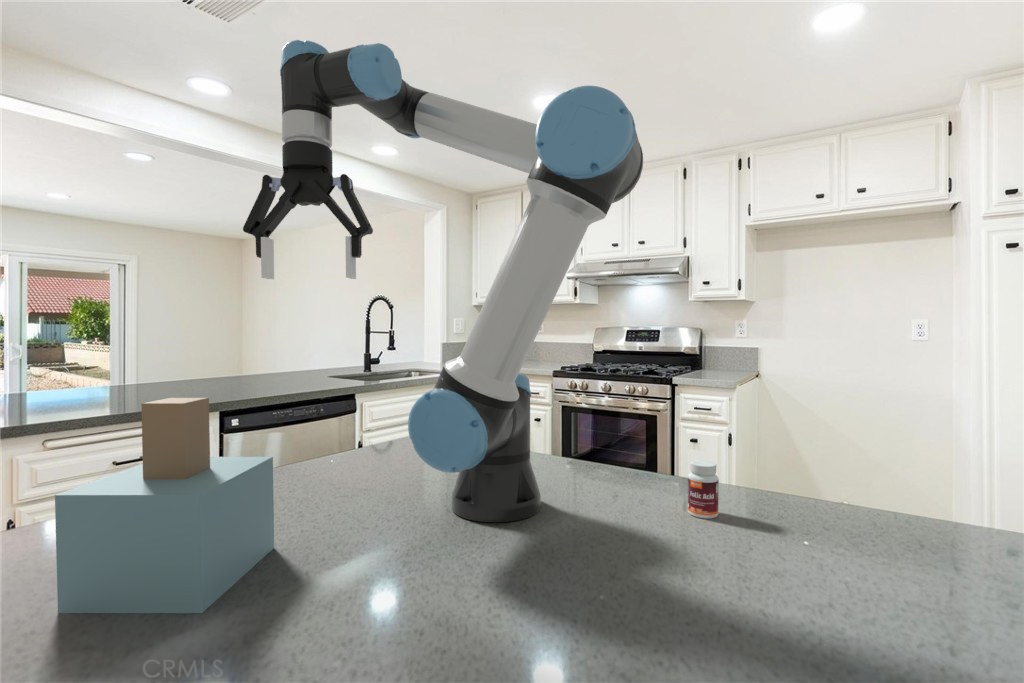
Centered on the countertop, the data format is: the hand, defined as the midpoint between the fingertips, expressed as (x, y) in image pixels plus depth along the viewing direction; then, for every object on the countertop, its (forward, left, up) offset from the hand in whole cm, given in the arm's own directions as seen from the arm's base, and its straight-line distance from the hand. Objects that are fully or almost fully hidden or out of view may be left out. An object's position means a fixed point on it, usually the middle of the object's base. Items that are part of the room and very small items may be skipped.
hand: (309, 278), depth 84 cm
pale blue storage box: (+8, +21, -39) cm, 45 cm away
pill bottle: (-64, -1, -39) cm, 75 cm away
